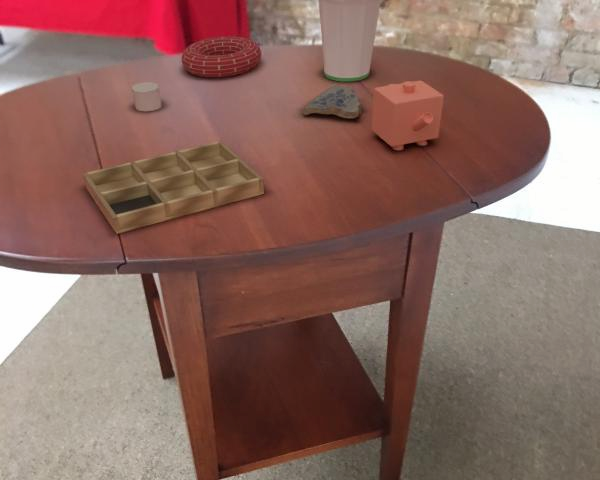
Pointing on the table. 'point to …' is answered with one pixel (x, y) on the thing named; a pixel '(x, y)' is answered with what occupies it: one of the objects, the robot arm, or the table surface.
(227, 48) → the torus
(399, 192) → the table surface
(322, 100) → the ceramic fragment
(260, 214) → the table surface
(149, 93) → the grey squat cylinder
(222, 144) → the compartment tray
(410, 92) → the pink cube teapot
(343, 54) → the cup
